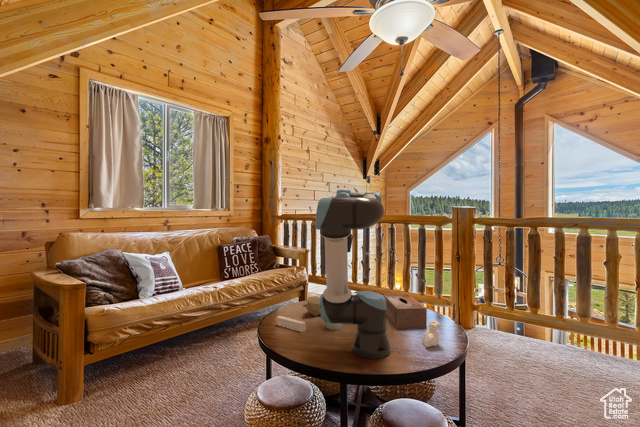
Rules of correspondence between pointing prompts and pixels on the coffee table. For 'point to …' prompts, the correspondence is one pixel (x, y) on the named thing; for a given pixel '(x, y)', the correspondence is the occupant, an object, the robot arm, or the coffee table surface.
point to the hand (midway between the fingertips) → (343, 265)
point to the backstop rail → (291, 324)
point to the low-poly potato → (313, 305)
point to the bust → (431, 334)
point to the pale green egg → (333, 326)
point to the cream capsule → (311, 295)
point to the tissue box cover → (405, 311)
